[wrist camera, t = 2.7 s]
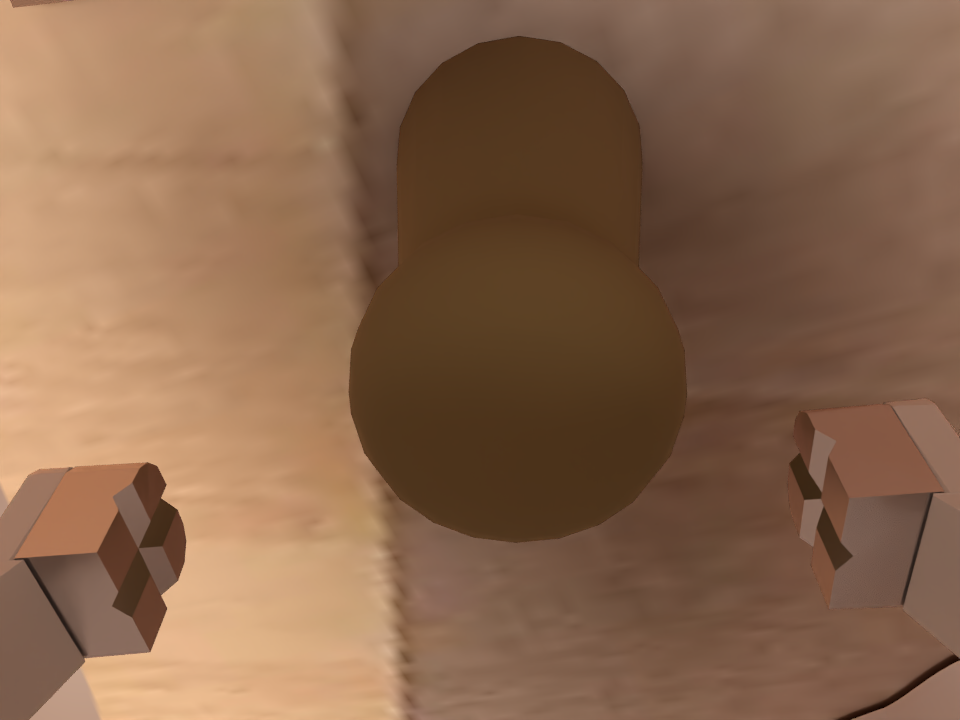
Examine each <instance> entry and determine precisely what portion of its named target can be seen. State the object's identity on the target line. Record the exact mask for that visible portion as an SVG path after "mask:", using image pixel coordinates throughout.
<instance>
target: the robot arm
mask: <svg viewBox="0 0 960 720" xmlns="http://www.w3.org/2000/svg"><path fill="white" fill-rule="evenodd" d="M793 438H794V440H795V442H796V445H797V447H798V449H799V451H800V453H799V454H798V455H797V456H796V457H795V458H794V459H793V460H792V461H791V462H790V463H789V473H788V484H787V485H788V497H789V506H790V510H791V514H792V518H793V522H794V525H795V527H796V530H797V533H798V535H799V538H801V539H802V540H804V541H805V542H806V543H808V544H809V545H811V546H812V547H813V553H812V560H811V568H812V570H813V573H814V575H815V577H816V580H817V582H818V585H819V587H820V590H821V592H822V594H823V597H824V599H825V602H826V604H827V607H828V609H852V608H879V607H903V611H904V612H906V613H907V614H908V615H909V616H910V617H911V618H913V619H914V620H915V621H916V622H917V623H918V624H920V625H921V626H922V627H923V628H924V629H926V630H927V631H928V632H929V633H930V634H931V635H933V636H934V637H935V638H936V639H937V640H938V641H940V642H941V643H942V644H943V645H944V646H946V647H947V648H948V649H949V650H950V651H951V652H953V653H954V654H955V655H956V656H957V657H958V658H960V438H959V436H958V435H957V433H956V432H955V431H954V429H953V428H952V426H951V425H950V424H949V422H948V421H947V419H946V418H945V417H944V415H943V414H942V412H941V411H940V410H939V408H938V407H937V405H936V404H935V403H934V402H932V401H931V400H929V399H927V398H924V399H914V400H904V401H894V402H884V403H883V404H872V405H861V406H849V407H837V408H826V409H814V410H802V411H799V413H798V415H797V417H796V419H795V425H794V432H793ZM165 487H166V483H165V481H164V479H163V477H162V475H161V473H160V471H159V469H158V467H157V466H156V465H153V464H150V463H148V462H147V463H129V464H112V465H94V466H76V467H74V468H70V467H69V468H53V469H39V470H37V471H35V472H33V473H32V474H30V475H28V477H27V478H26V480H25V481H24V483H23V484H22V486H21V487H20V489H19V490H18V492H17V493H16V495H15V496H14V498H13V499H12V501H11V502H10V504H9V505H8V507H7V508H6V510H5V511H4V513H3V514H2V516H1V517H0V720H29V719H30V718H31V717H32V716H33V715H34V714H35V713H36V712H37V711H38V710H39V709H40V708H41V707H42V706H43V705H44V704H45V703H46V702H47V701H48V700H49V699H50V698H51V697H52V696H53V694H54V693H55V692H56V691H57V690H58V689H59V688H60V687H61V686H62V685H63V684H64V683H65V682H66V681H67V680H68V679H69V678H70V677H71V676H72V675H73V674H74V673H75V672H76V671H77V670H78V669H79V668H80V667H81V666H82V665H83V664H84V663H85V660H84V658H92V657H103V656H114V655H125V654H136V653H147V652H151V649H152V646H153V644H154V641H155V639H156V636H157V634H158V631H159V628H160V626H161V623H162V621H163V618H164V616H165V613H166V610H167V607H166V605H165V603H164V601H163V599H162V597H161V595H162V594H163V593H164V592H165V591H167V590H168V589H169V588H170V587H171V586H172V585H173V584H175V583H176V582H177V581H178V579H179V576H180V573H181V571H182V568H183V565H184V562H185V549H186V536H185V531H184V525H183V522H182V520H181V517H180V515H179V512H178V510H177V509H176V508H174V507H173V506H171V505H170V504H168V503H167V502H165V501H164V500H163V499H161V496H162V494H163V492H164V489H165ZM852 720H960V660H959V661H957V662H955V663H953V664H951V665H950V666H948V667H946V668H945V669H943V670H941V671H939V672H938V673H936V674H935V675H933V676H932V677H930V678H928V679H927V680H926V681H924V682H923V683H921V684H920V685H919V686H917V687H916V688H914V689H913V690H912V691H910V692H909V693H908V694H906V695H905V696H903V697H902V698H900V699H899V700H897V701H896V702H894V703H892V704H890V705H889V706H887V707H885V708H882V709H879V710H877V711H874V712H871V713H868V714H865V715H863V716H860V717H857V718H854V719H852Z"/></svg>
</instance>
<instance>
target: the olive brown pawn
mask: <svg viewBox="0 0 960 720" xmlns="http://www.w3.org/2000/svg"><path fill="white" fill-rule="evenodd" d="M641 189H642V151H641V138H640V126H639V123H638V121H637V119H636V116H635V114H634V112H633V110H632V107H631V105H630V103H629V101H628V98H627V96H626V94H625V92H624V90H623V89H622V88H621V87H620V86H619V84H618V83H617V82H616V81H615V80H614V79H613V78H612V77H611V76H610V75H609V74H608V73H607V72H606V71H605V70H604V69H603V68H602V66H601V65H600V64H599V63H598V62H597V61H595V60H593V59H591V58H589V57H588V56H586V55H584V54H582V53H580V52H578V51H576V50H574V49H572V48H570V47H568V46H566V45H564V44H562V43H561V42H555V41H548V40H541V39H535V38H528V37H521V36H517V37H511V38H506V39H500V40H495V41H489V42H484V43H478V44H476V45H474V46H473V47H471V48H469V49H467V50H465V51H463V52H462V53H460V54H458V55H456V56H454V57H453V58H451V59H449V60H447V61H445V62H443V63H442V64H441V65H440V66H439V67H438V68H437V69H436V70H435V72H434V73H433V74H432V75H431V76H430V77H429V78H428V79H427V80H426V81H425V82H424V84H423V85H422V86H421V87H420V88H419V89H418V90H417V91H416V92H415V94H414V97H413V99H412V101H411V103H410V106H409V108H408V110H407V113H406V115H405V117H404V120H403V122H402V124H401V126H400V133H399V145H398V157H397V205H398V268H397V269H396V270H395V271H394V272H392V273H391V274H390V275H389V276H388V278H387V279H386V280H385V281H384V282H383V283H382V284H381V285H380V286H379V287H378V288H377V290H376V292H375V294H374V296H373V298H372V300H371V302H370V304H369V307H368V309H367V311H366V313H365V315H364V317H363V319H362V321H361V324H360V326H359V328H358V330H357V333H356V336H355V339H354V342H353V345H352V348H351V362H350V379H349V399H350V407H351V415H352V418H353V421H354V423H355V426H356V429H357V432H358V435H359V438H360V441H361V444H362V447H363V450H364V453H365V454H366V456H367V457H368V458H369V460H370V461H371V462H372V464H373V465H374V466H375V468H376V469H377V470H378V472H379V473H380V474H381V475H382V477H383V478H384V479H385V481H386V482H387V483H388V484H389V486H390V487H391V488H392V489H393V491H394V492H395V493H396V495H397V496H398V497H399V498H400V500H402V501H403V502H405V503H406V504H408V505H409V506H410V507H412V508H413V509H415V510H416V511H418V512H419V513H421V514H422V515H423V516H425V517H426V518H428V519H429V520H431V521H432V522H433V523H436V524H439V525H441V526H444V527H447V528H450V529H452V530H455V531H458V532H460V533H463V534H466V535H468V536H471V537H475V538H483V539H491V540H499V541H507V542H515V543H517V542H527V541H538V540H548V539H558V538H562V537H565V536H567V535H570V534H573V533H576V532H579V531H582V530H585V529H588V528H591V527H594V526H597V525H599V524H601V523H602V522H604V521H605V520H607V519H608V518H610V517H611V516H613V515H614V514H616V513H617V512H619V511H620V510H622V509H623V508H625V507H626V506H628V505H629V504H631V503H632V502H633V501H634V500H635V499H636V498H637V497H638V495H639V494H640V493H641V492H642V490H643V489H644V488H645V487H646V485H647V484H648V483H649V482H650V480H651V479H652V478H653V477H654V476H655V474H656V473H657V472H658V471H659V469H660V468H661V467H662V466H663V464H664V463H665V462H666V461H667V459H668V458H669V457H670V455H671V453H672V450H673V447H674V444H675V441H676V438H677V435H678V432H679V429H680V426H681V423H682V420H683V417H684V412H685V405H686V398H687V384H686V367H685V350H684V347H683V344H682V341H681V337H680V334H679V331H678V328H677V326H676V324H675V322H674V320H673V318H672V316H671V314H670V312H669V310H668V308H667V305H666V303H665V301H664V299H663V297H662V295H661V293H660V291H659V289H658V287H657V286H656V285H655V284H654V283H653V282H652V281H651V280H650V279H649V278H648V277H647V276H646V275H645V274H644V273H643V272H642V271H641V270H640V269H639V242H640V215H641Z"/></svg>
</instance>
